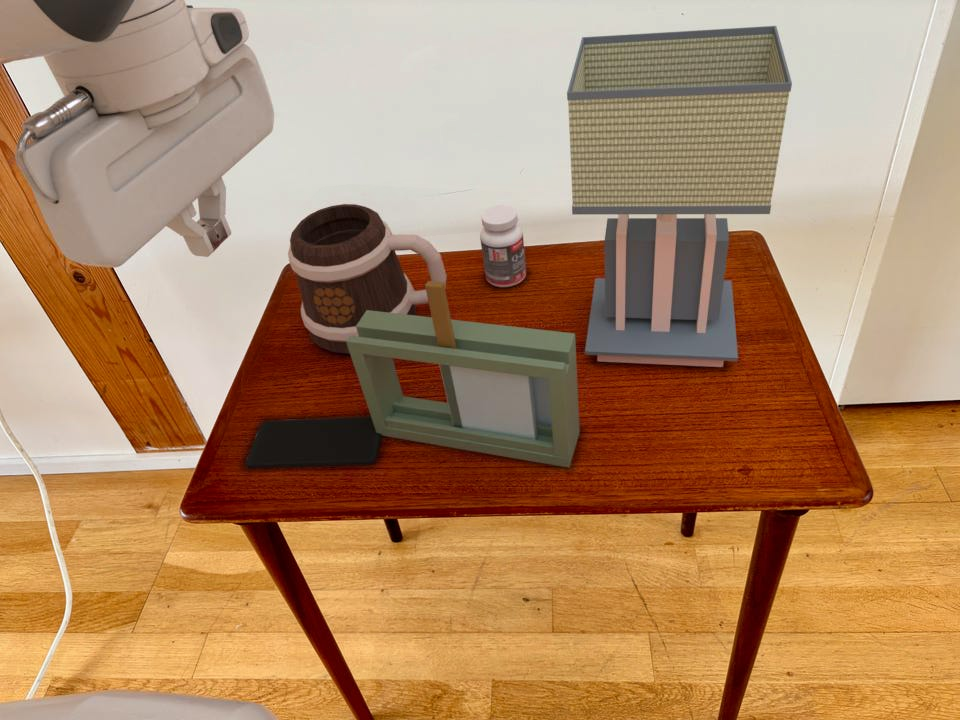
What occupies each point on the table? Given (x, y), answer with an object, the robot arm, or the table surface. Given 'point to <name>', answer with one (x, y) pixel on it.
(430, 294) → the window pane
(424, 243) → the mug
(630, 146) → the desk lamp
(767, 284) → the table surface
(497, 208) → the pill bottle
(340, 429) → the smartphone
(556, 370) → the window frame
